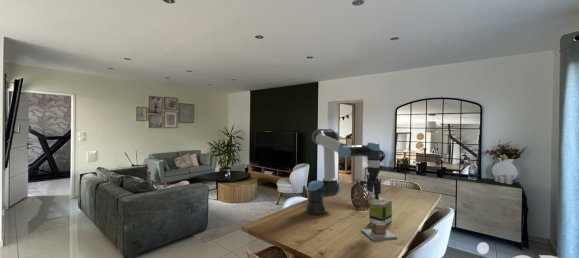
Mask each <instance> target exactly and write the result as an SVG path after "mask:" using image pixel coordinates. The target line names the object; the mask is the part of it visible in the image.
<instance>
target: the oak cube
mask: <svg viewBox="0 0 579 258" xmlns="http://www.w3.org/2000/svg"><path fill="white" fill-rule="evenodd" d="M379 198H380V196H379V195H378V204H376V205H379ZM367 204H371V205H374V194H373V195H369V194H367Z"/></svg>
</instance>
